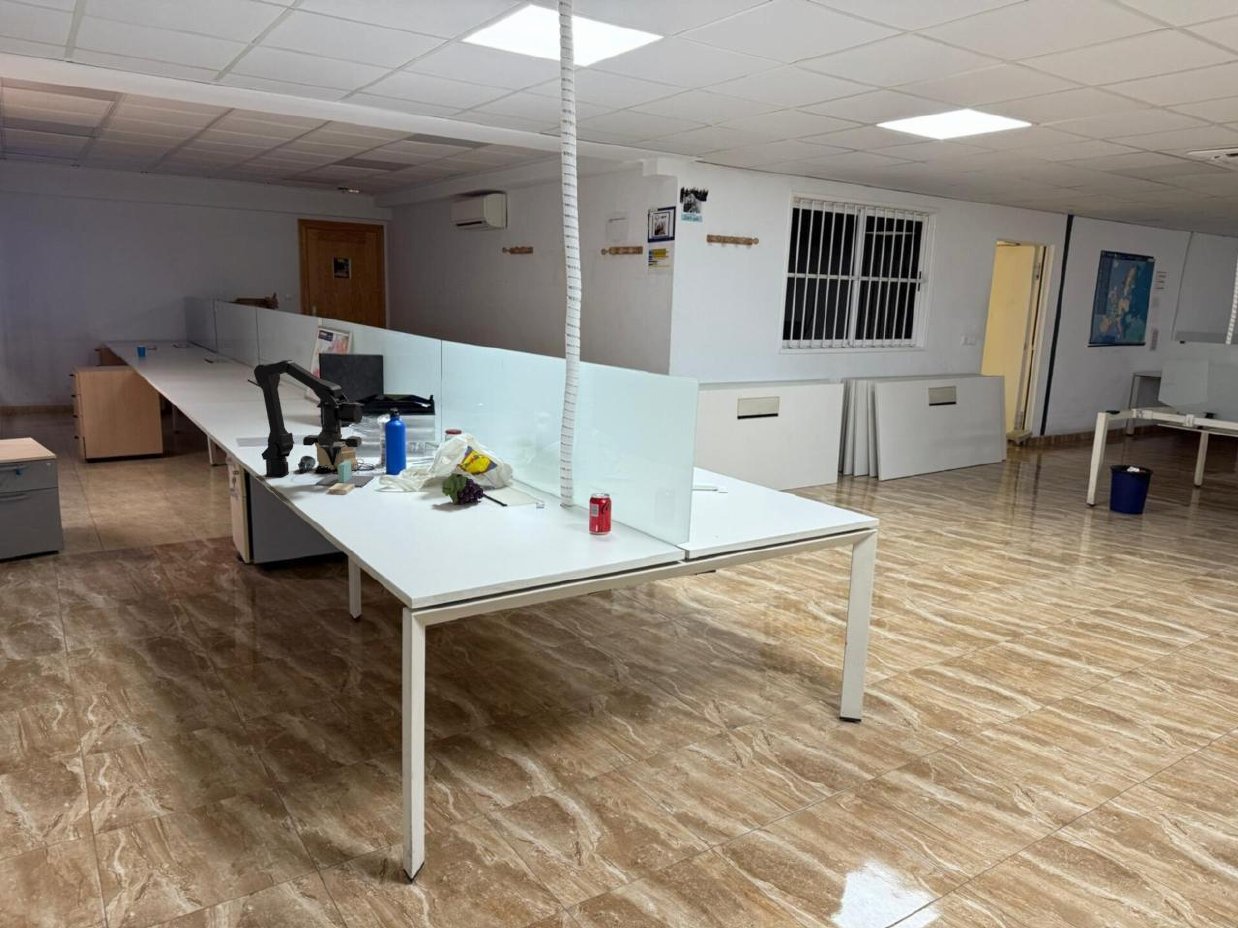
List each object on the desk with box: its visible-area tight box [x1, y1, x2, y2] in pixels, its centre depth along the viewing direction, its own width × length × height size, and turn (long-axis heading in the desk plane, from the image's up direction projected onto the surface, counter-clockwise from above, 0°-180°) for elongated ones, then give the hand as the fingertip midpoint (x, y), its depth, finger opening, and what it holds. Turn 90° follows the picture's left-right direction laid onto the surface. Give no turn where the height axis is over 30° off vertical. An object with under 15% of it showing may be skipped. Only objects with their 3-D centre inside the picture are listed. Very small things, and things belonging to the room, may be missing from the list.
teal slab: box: [337, 461, 352, 483], centre depth 303 cm, size 2×8×6 cm, turn 0°
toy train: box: [314, 443, 359, 471], centre depth 321 cm, size 6×17×10 cm, turn 57°
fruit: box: [441, 472, 485, 505], centre depth 283 cm, size 10×11×15 cm
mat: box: [315, 473, 375, 488], centre depth 304 cm, size 16×14×1 cm
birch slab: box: [328, 483, 356, 495], centre depth 291 cm, size 6×8×2 cm
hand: (333, 465), depth 303 cm, fingers closed
